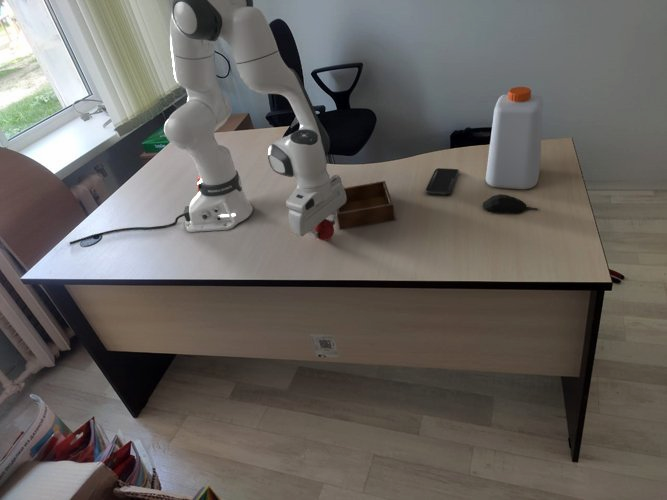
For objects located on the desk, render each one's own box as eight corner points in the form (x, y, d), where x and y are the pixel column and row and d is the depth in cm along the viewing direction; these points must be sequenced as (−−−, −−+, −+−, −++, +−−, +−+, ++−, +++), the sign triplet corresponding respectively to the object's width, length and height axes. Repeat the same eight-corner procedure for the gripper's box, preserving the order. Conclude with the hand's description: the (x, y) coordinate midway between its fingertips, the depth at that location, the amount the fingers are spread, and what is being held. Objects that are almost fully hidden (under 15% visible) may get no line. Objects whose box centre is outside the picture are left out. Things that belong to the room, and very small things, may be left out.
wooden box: (339, 229, 142) (336, 214, 139) (335, 204, 154) (333, 189, 150) (394, 219, 142) (393, 204, 138) (386, 195, 153) (384, 180, 150)
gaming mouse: (537, 215, 132) (538, 203, 130) (481, 213, 137) (482, 201, 135) (537, 203, 137) (538, 191, 135) (483, 201, 142) (484, 189, 140)
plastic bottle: (491, 164, 158) (496, 80, 141) (540, 167, 152) (551, 80, 135) (483, 188, 148) (486, 100, 131) (535, 192, 142) (546, 100, 125)
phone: (425, 191, 149) (436, 167, 160) (425, 194, 150) (436, 170, 160) (450, 193, 146) (459, 169, 157) (450, 196, 147) (459, 172, 157)
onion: (336, 233, 141) (332, 210, 136) (334, 245, 136) (330, 222, 131) (317, 234, 142) (312, 212, 137) (314, 246, 137) (309, 224, 132)
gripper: (331, 170, 136) (338, 210, 144) (281, 205, 125) (292, 246, 133) (348, 174, 132) (354, 215, 141) (298, 211, 121) (308, 253, 130)
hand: (323, 231), depth 137 cm, fingers closed on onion, 6 cm apart
